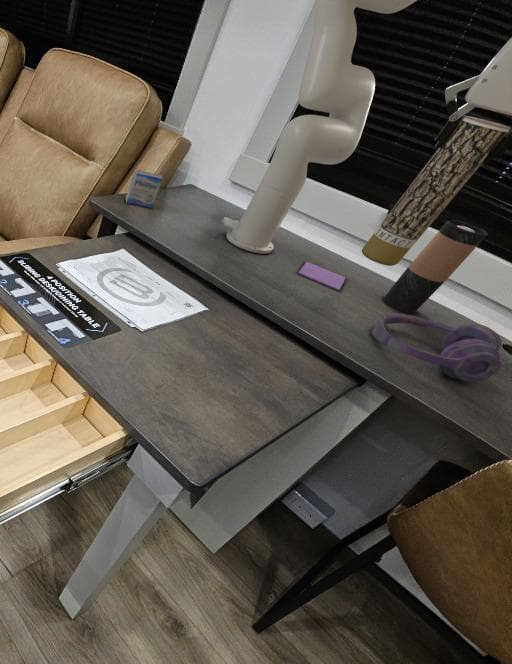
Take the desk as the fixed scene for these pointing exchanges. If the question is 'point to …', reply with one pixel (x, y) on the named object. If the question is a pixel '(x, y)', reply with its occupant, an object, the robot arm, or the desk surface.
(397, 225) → the paper tube
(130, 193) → the medicine box
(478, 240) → the travel mug
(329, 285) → the mat
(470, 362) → the headphones
